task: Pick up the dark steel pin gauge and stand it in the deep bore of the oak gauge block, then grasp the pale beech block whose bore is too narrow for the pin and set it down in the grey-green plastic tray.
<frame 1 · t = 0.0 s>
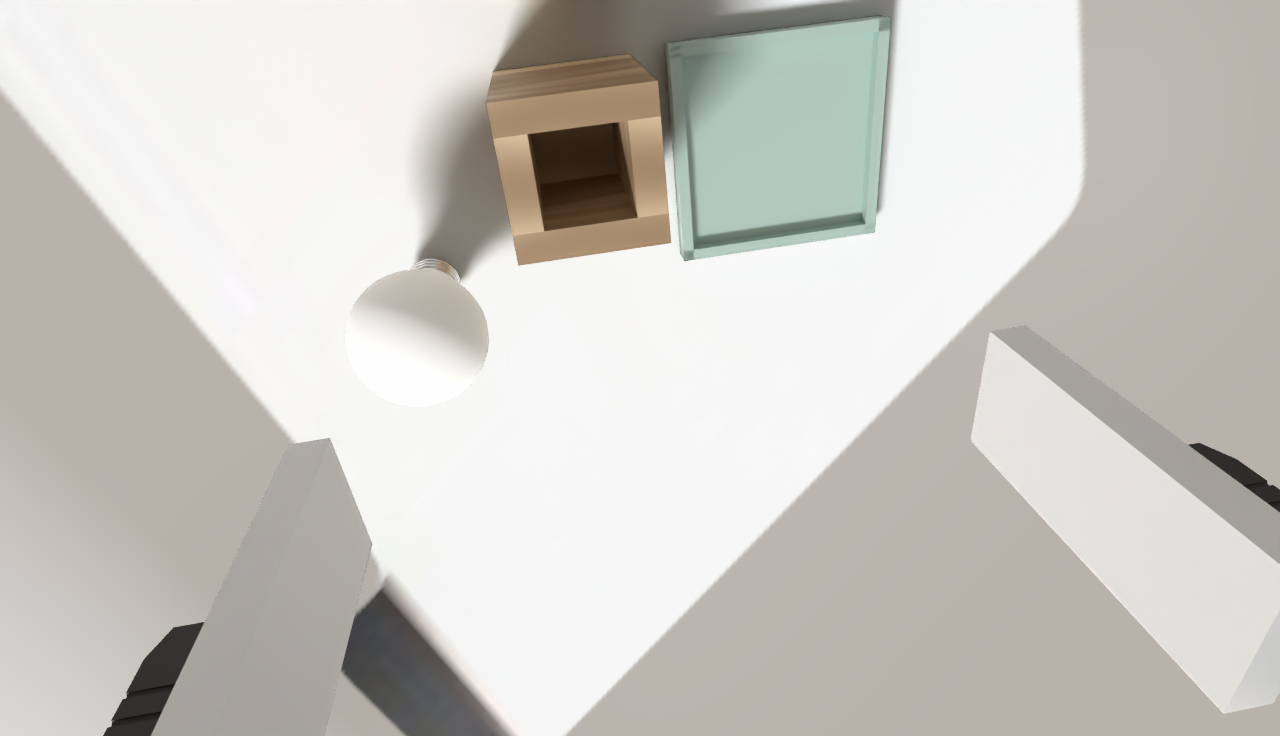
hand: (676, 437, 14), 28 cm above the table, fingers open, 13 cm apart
wide-bore block: (571, 132, 38), on the table
tray: (774, 142, 40), on the table
light bulb: (435, 275, 41), on the table
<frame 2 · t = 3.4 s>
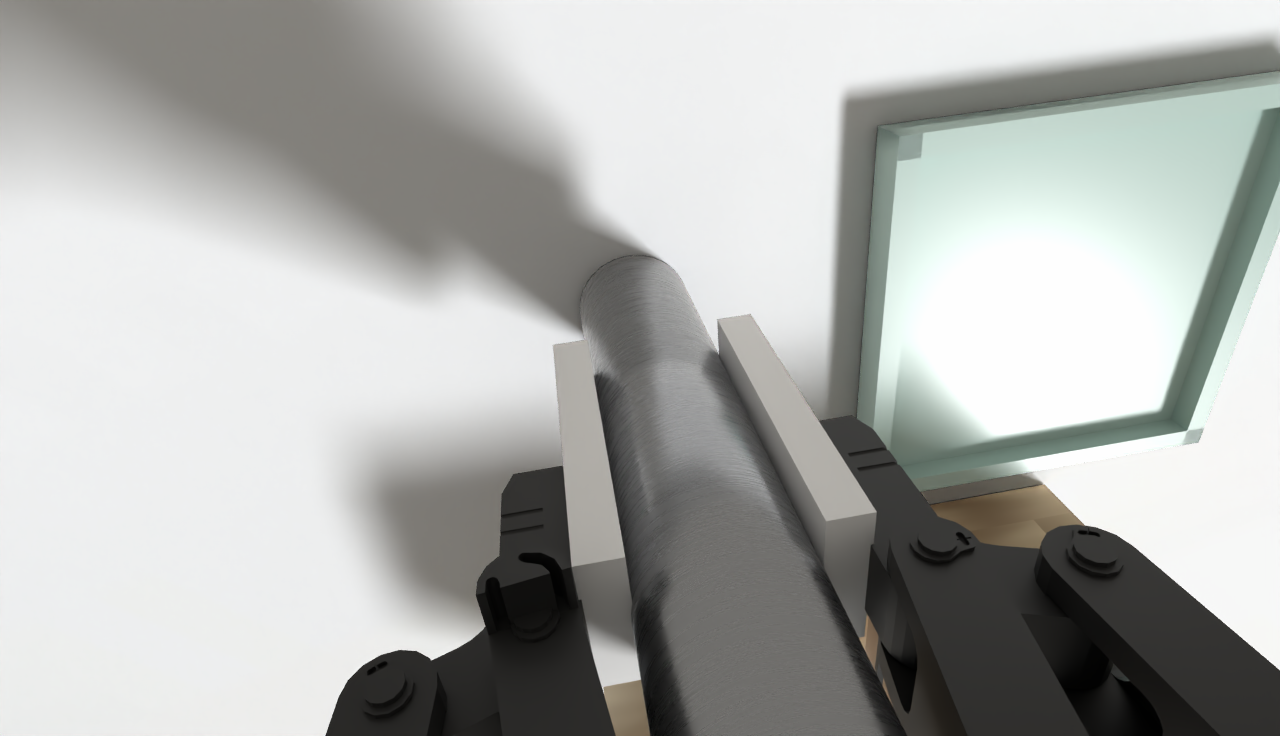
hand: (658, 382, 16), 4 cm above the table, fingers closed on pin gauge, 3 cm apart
narrow-bore block: (680, 598, 26), on the table
pin gauge: (634, 306, 20), on the table, touching gripper
wide-bore block: (940, 570, 27), on the table
tray: (1047, 297, 21), on the table
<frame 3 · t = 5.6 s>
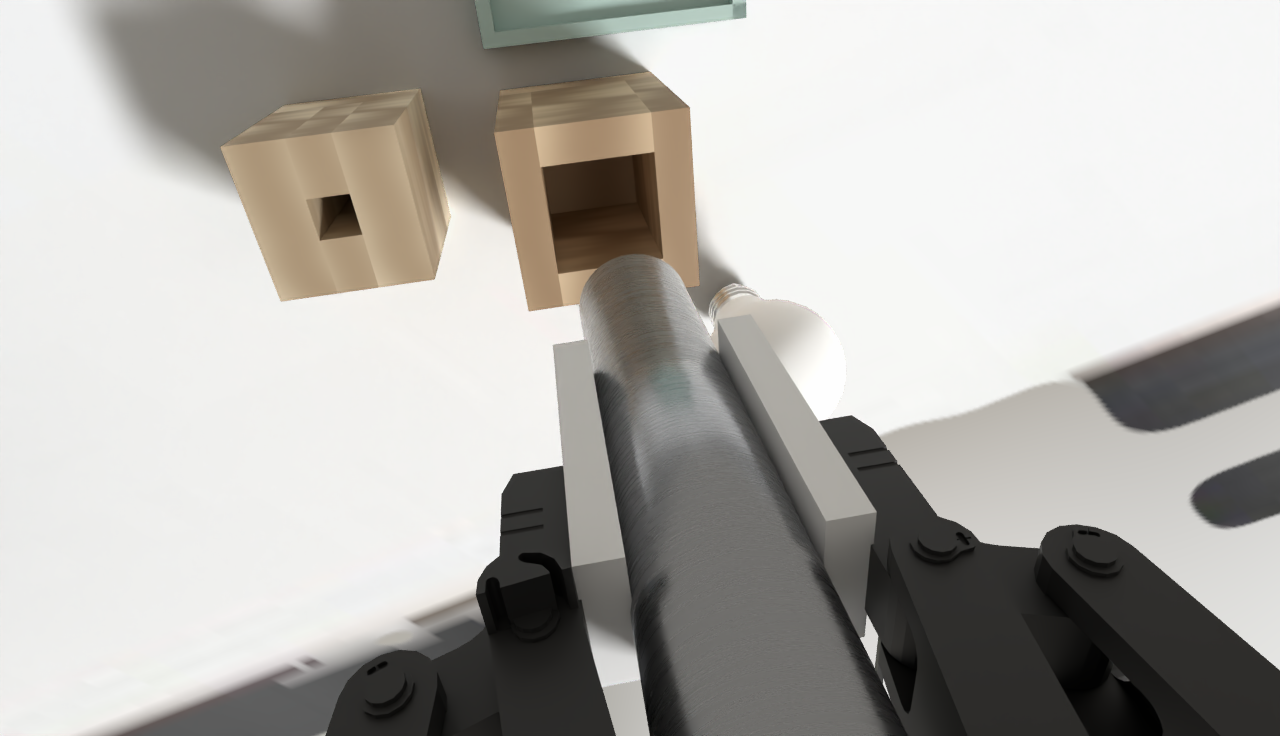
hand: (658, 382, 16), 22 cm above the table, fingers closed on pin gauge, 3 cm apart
narrow-bore block: (372, 163, 33), on the table
pin gauge: (633, 305, 20), point 17 cm above the table, touching gripper
wide-bore block: (585, 157, 35), on the table
light bulb: (729, 300, 40), on the table
when the fingers open (11 cm above the table, at t = 8.3 s): pin gauge drops 4 cm, resting on wide-bore block.
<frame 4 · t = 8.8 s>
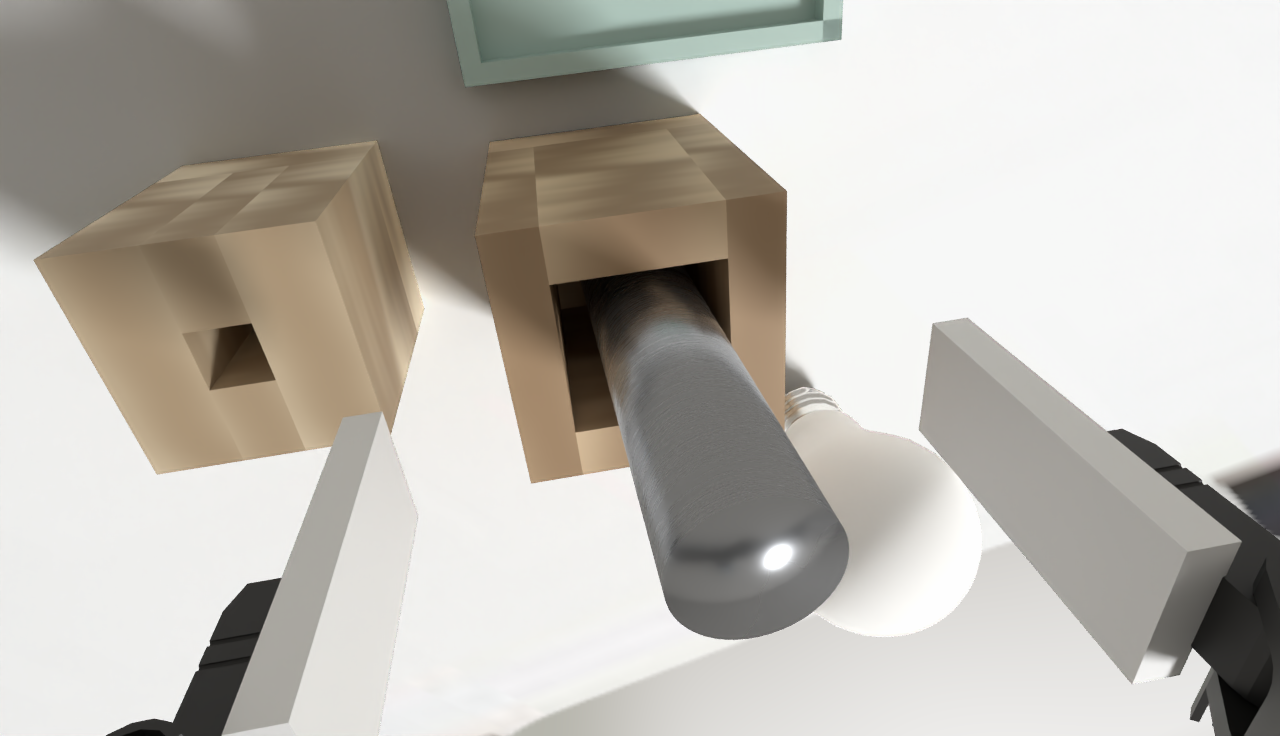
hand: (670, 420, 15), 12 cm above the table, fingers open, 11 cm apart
narrow-bore block: (312, 242, 24), on the table
pin gauge: (616, 242, 24), point 2 cm above the table, touching wide-bore block
wide-bore block: (608, 229, 25), on the table
light bulb: (794, 403, 30), on the table
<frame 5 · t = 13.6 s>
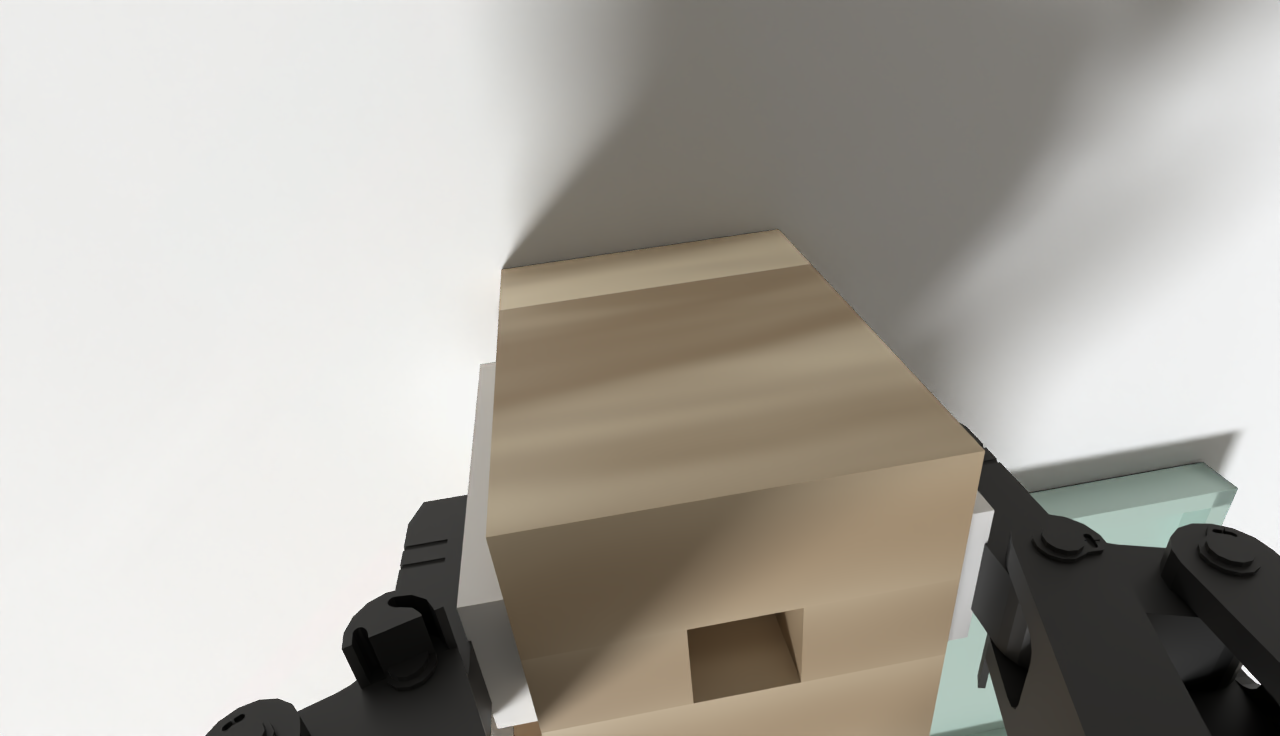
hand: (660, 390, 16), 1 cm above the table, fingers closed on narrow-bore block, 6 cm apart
narrow-bore block: (654, 368, 17), on the table, touching gripper
wide-bore block: (650, 652, 22), on the table
tray: (987, 628, 24), on the table
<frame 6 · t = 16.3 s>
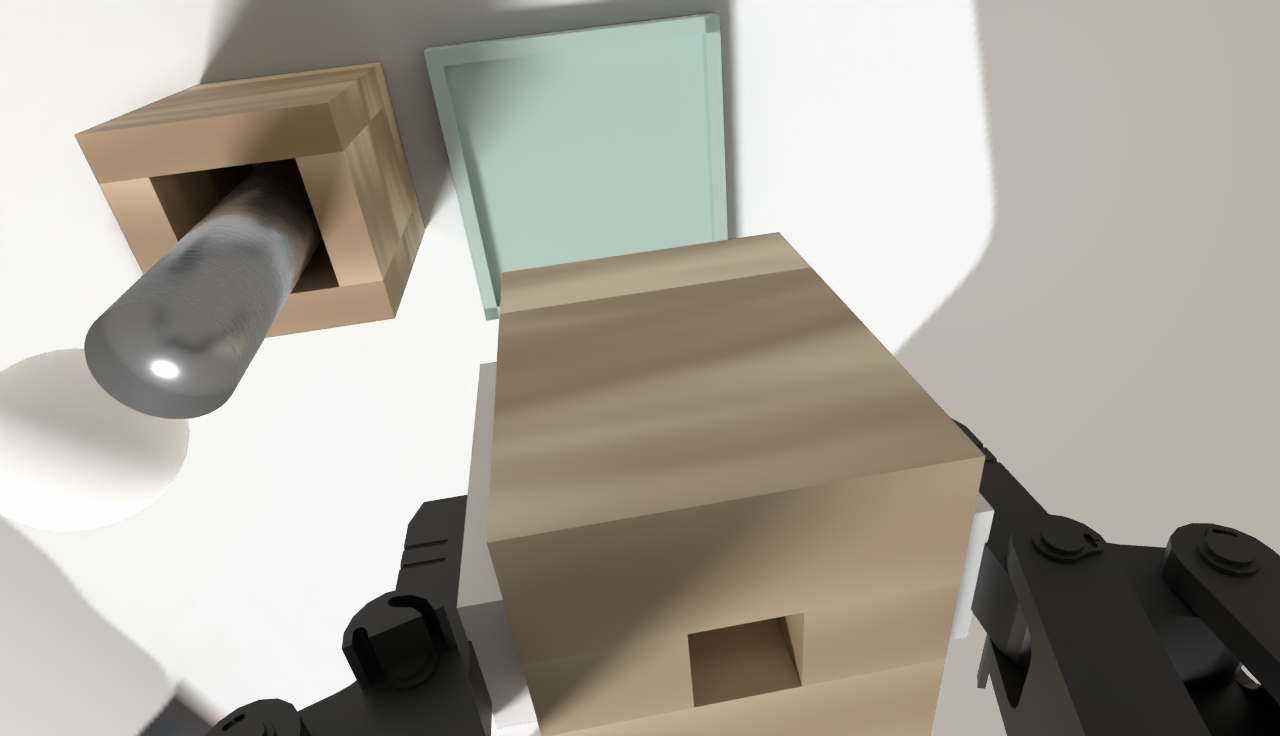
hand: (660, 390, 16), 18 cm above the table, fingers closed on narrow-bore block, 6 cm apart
narrow-bore block: (654, 371, 17), point 17 cm above the table, touching gripper
pin gauge: (312, 174, 28), point 2 cm above the table, touching wide-bore block
wide-bore block: (319, 162, 30), on the table
tray: (591, 173, 32), on the table
light bulb: (172, 339, 33), on the table
when the fingers open (3 cm above the table, at t = 19.3 s): narrow-bore block drops 2 cm, resting on tray.
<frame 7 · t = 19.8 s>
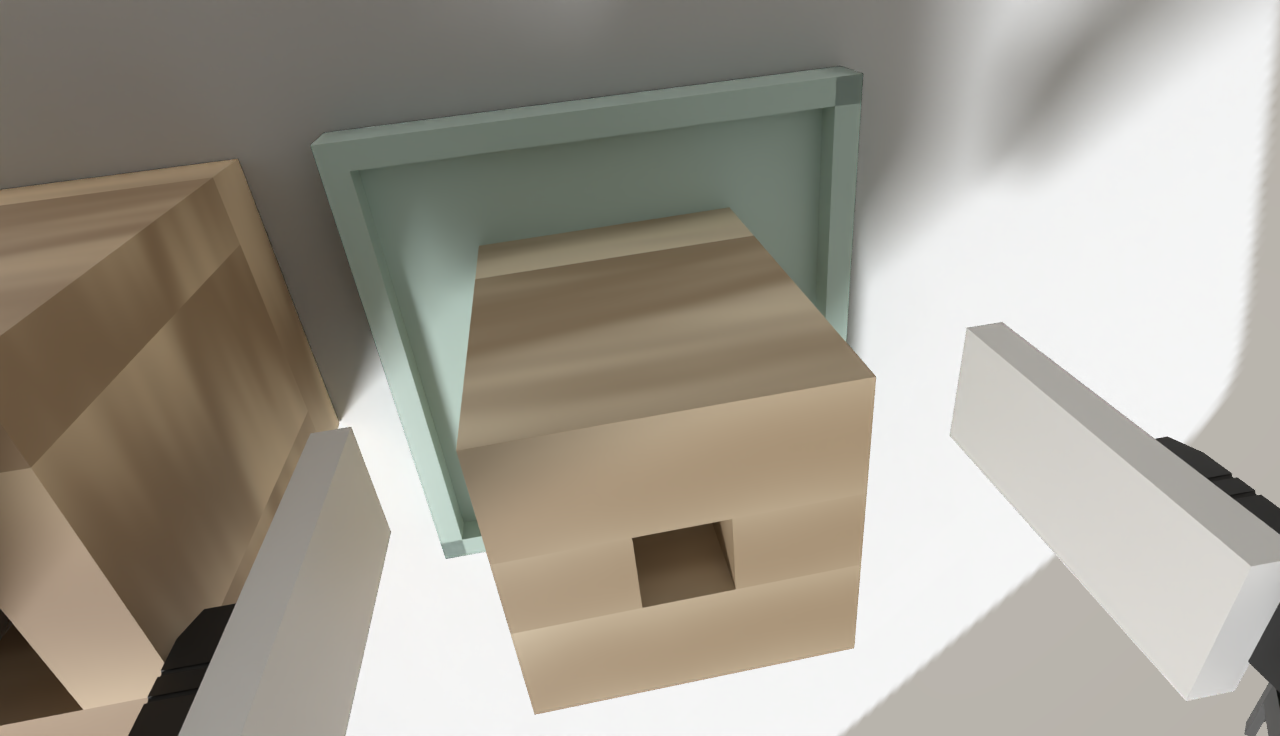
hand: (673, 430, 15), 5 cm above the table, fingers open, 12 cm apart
narrow-bore block: (620, 337, 18), resting on tray
wide-bore block: (141, 327, 17), on the table
tray: (619, 328, 19), on the table
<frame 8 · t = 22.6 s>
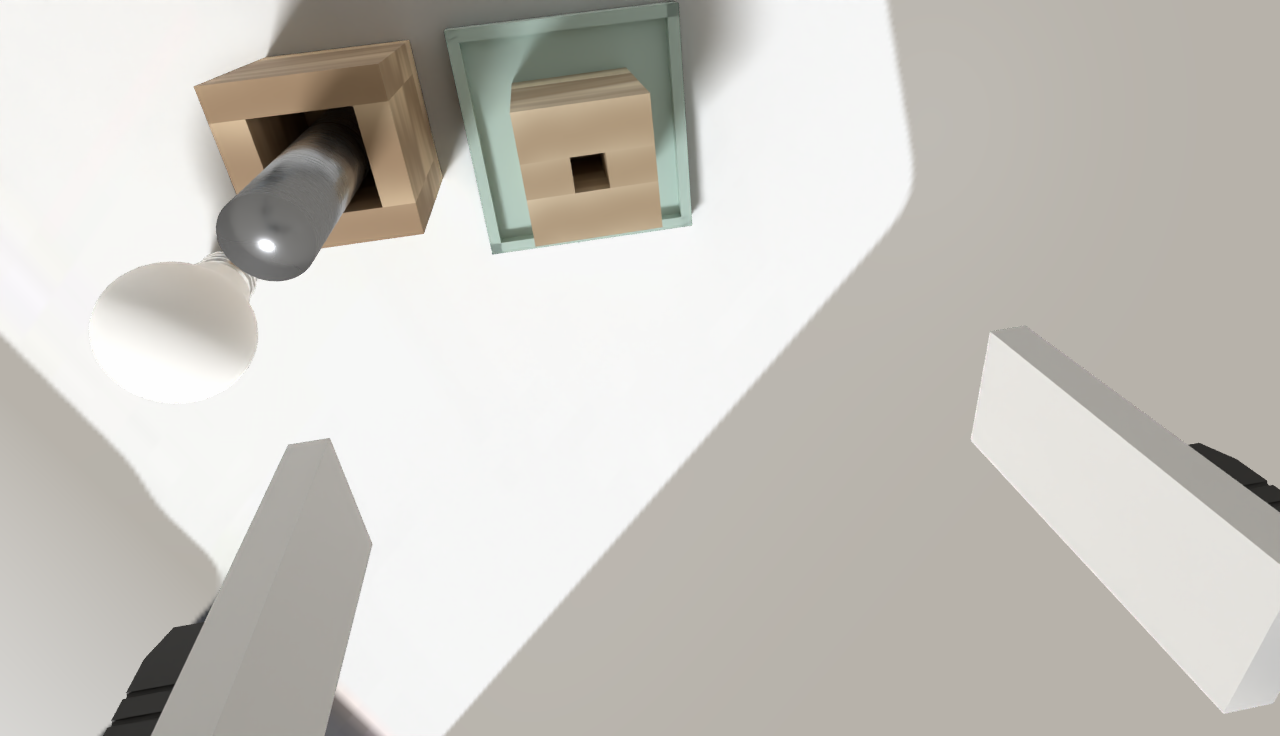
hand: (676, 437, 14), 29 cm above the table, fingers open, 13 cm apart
narrow-bore block: (577, 134, 38), resting on tray
pin gauge: (356, 129, 36), point 2 cm above the table, touching wide-bore block
wide-bore block: (359, 121, 37), on the table
tray: (577, 132, 39), on the table
light bulb: (235, 269, 40), on the table
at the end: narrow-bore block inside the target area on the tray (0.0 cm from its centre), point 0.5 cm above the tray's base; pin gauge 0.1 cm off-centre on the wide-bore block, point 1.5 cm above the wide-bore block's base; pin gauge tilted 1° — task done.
